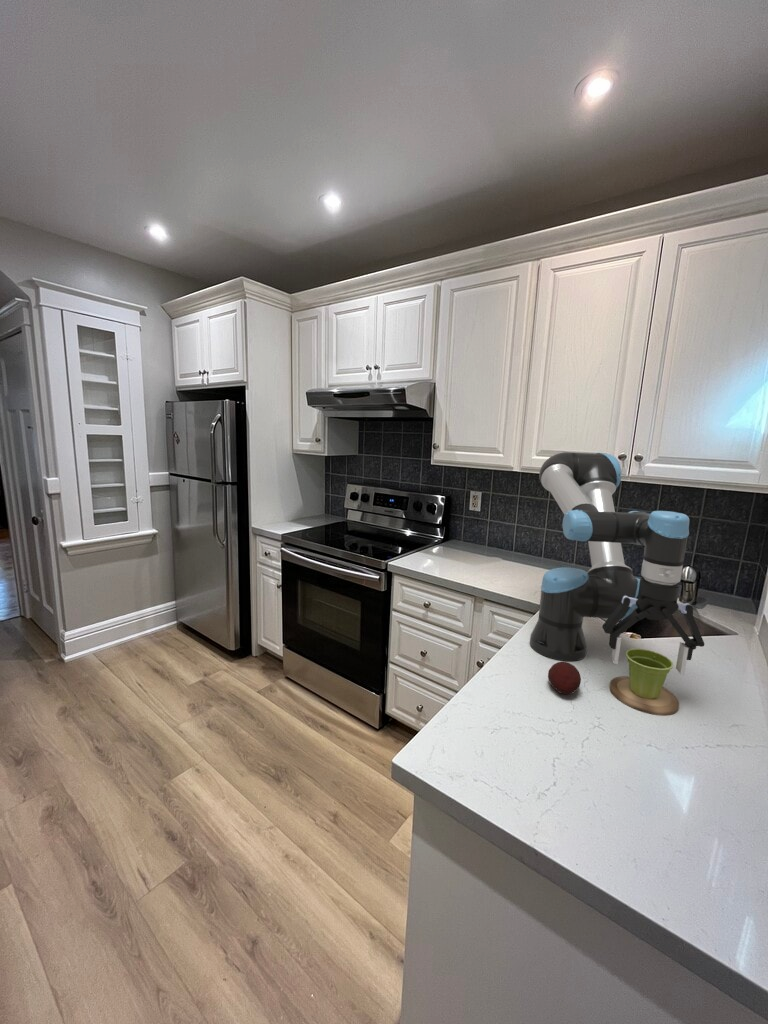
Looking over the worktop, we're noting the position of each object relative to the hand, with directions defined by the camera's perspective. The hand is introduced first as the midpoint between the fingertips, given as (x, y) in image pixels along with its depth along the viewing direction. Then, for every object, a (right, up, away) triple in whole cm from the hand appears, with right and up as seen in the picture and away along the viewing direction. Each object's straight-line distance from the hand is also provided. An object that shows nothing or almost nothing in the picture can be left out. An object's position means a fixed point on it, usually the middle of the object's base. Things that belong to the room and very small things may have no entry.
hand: (646, 666), depth 99 cm
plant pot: (0, -7, +1) cm, 7 cm away
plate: (0, -8, +1) cm, 8 cm away
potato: (-18, -7, +3) cm, 20 cm away
